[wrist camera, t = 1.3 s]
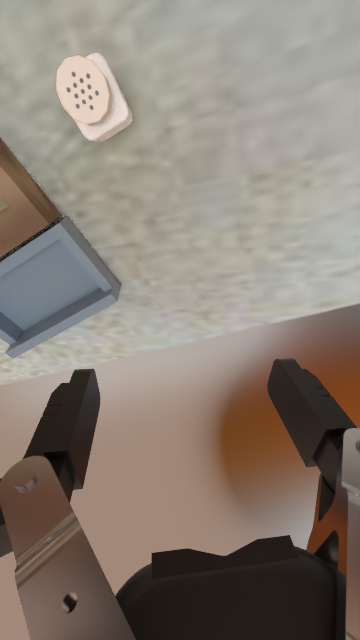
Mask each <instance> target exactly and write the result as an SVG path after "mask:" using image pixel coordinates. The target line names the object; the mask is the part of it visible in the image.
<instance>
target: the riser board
mask: <svg viewBox="0 0 360 640" xmlns="http://www.w3.org/2000/svg"><path fill="white" fill-rule="evenodd" d="M0 197H1V198H2V199H3V201H4V202H5V203H6V204H7V205H8V206H9V207H8V208H6V209H5V210H3V211H2V212H1V213H0V257H2V256H3V255H5V254H6V253H8V252H9V251H11V250H12V249H14V248H15V247H17V246H18V245H20V244H21V243H22V242H24V241H25V240H27V239H28V238H30V237H31V236H33V235H34V234H36V233H37V232H39V231H40V230H42V229H43V228H45V227H46V226H48V225H49V224H51V223H52V222H53V221H54V220H56V219H57V218H58V217H59V216H61V214H60V213H59V211H58V210H57V209H56V208H55V206H54V205H53V204H52V203H51V201H50V200H49V199H48V198H47V196H46V195H45V194H44V193H43V191H42V190H41V189H40V188H39V186H38V185H37V184H36V183H35V181H34V180H33V179H32V178H31V176H30V175H29V174H28V172H27V171H26V170H25V169H24V167H23V166H22V165H21V164H20V162H19V161H18V160H17V159H16V157H15V156H14V155H13V154H12V152H11V151H10V150H9V149H8V147H7V146H6V145H5V144H4V142H3V141H2V140H1V139H0Z"/></svg>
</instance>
